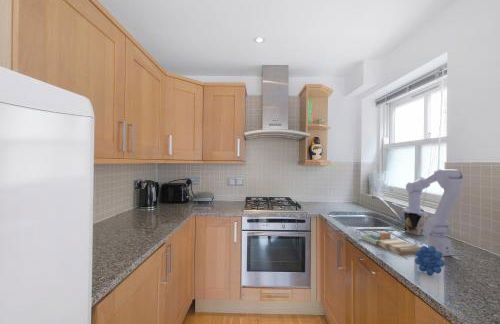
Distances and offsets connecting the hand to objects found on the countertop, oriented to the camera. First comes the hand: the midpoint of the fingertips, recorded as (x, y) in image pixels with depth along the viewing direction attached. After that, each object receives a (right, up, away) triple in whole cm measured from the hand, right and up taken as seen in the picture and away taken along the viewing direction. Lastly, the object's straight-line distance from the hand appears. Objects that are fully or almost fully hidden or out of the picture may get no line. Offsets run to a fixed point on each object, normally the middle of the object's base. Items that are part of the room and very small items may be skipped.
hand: (414, 226), depth 144 cm
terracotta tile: (-16, -6, +1) cm, 17 cm away
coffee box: (+14, -10, +21) cm, 27 cm away
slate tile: (-19, -7, +5) cm, 20 cm away
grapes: (-21, -9, -42) cm, 48 cm away
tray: (-20, -9, +3) cm, 22 cm away
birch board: (-16, -9, -11) cm, 22 cm away
